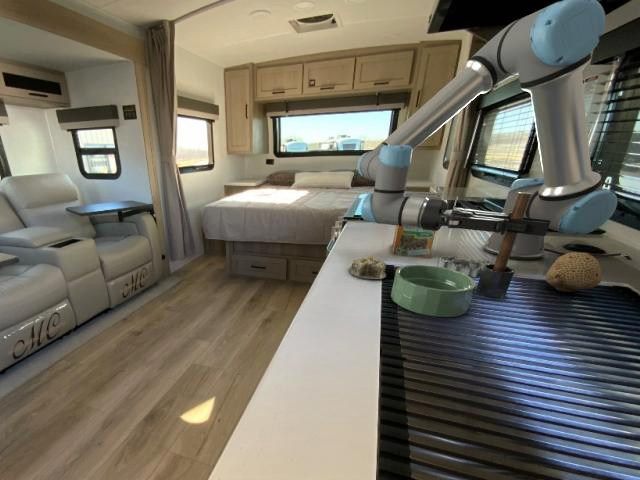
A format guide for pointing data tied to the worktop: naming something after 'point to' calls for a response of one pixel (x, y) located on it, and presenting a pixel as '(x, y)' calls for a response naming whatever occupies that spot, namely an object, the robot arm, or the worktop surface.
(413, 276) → the bowl
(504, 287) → the utensil cup
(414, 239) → the yellow food carton
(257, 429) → the worktop surface
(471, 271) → the egg carton
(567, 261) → the natural sponge
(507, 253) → the stick
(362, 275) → the cake
